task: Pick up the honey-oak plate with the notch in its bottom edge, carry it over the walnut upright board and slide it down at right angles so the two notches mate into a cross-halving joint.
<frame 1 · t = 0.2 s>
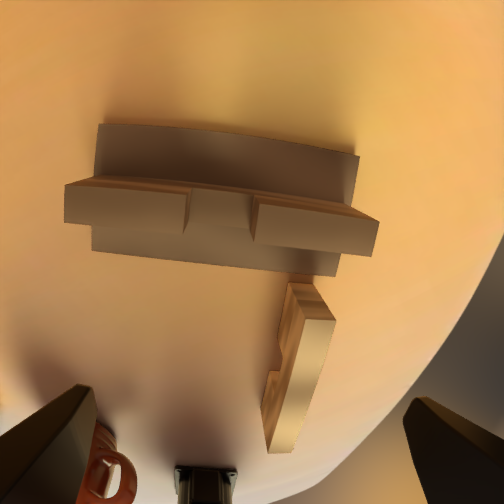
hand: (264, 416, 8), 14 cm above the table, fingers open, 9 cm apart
mug: (97, 429, 26), on the table
joint base: (221, 198, 20), on the table
oak plate: (284, 355, 24), on the table
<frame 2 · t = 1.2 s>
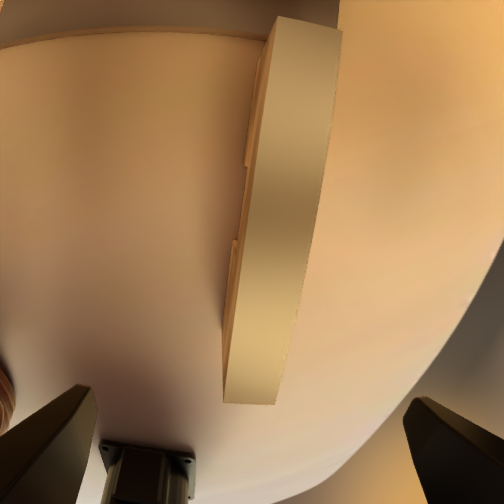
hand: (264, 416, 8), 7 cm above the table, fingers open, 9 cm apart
oak plate: (259, 204, 13), on the table
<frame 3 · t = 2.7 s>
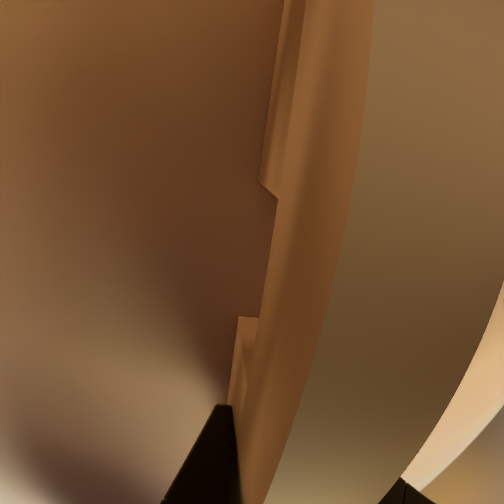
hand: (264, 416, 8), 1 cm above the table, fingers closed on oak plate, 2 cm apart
oak plate: (286, 256, 7), on the table, touching gripper
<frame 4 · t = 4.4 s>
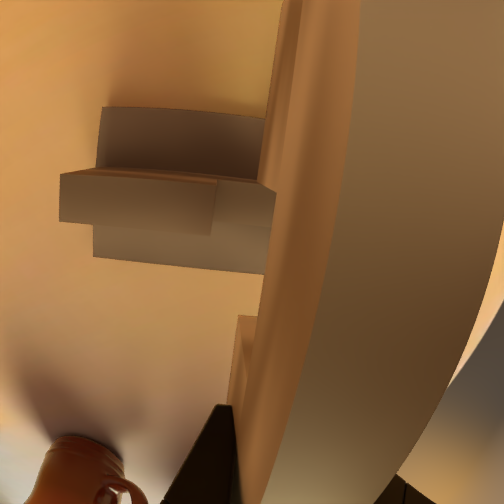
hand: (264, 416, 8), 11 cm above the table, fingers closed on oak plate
mug: (102, 452, 22), on the table
joint base: (246, 194, 17), on the table
oak plate: (285, 256, 8), point 10 cm above the table, touching gripper
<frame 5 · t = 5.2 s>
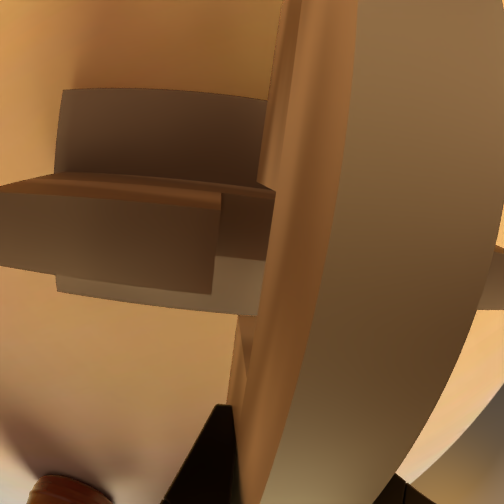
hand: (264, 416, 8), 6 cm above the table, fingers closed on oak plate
mug: (91, 491, 18), on the table
joint base: (260, 210, 12), on the table
oak plate: (285, 255, 8), point 5 cm above the table, touching gripper
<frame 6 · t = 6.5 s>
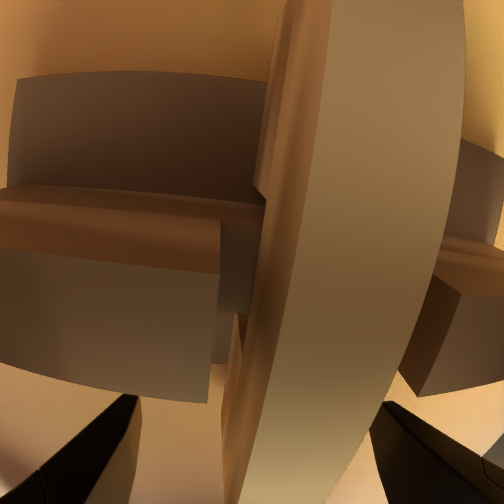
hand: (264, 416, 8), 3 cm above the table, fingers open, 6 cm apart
joint base: (273, 233, 9), on the table
oak plate: (277, 249, 9), point 1 cm above the table, touching joint base
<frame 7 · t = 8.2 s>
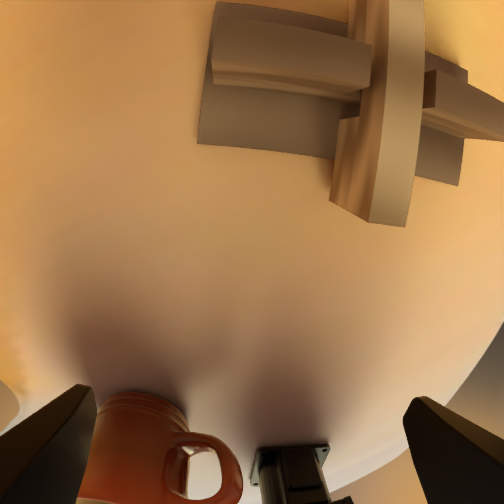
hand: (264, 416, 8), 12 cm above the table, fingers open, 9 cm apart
mug: (162, 411, 22), on the table
joint base: (352, 93, 16), on the table
oak plate: (358, 95, 15), point 1 cm above the table, touching joint base
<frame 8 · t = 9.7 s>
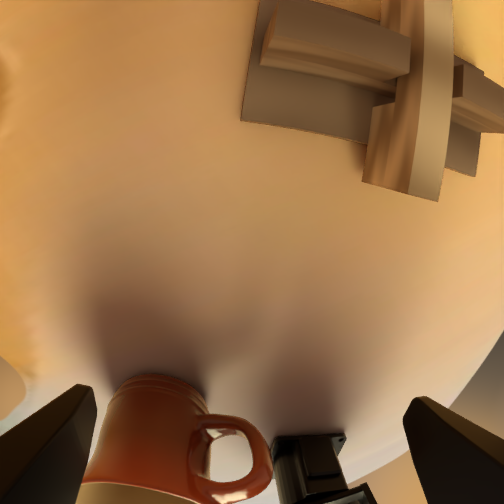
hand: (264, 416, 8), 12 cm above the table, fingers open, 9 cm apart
mug: (180, 396, 22), on the table
joint base: (382, 84, 16), on the table
oak plate: (389, 86, 16), point 1 cm above the table, touching joint base
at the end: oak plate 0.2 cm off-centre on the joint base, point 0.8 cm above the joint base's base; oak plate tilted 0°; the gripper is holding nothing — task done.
